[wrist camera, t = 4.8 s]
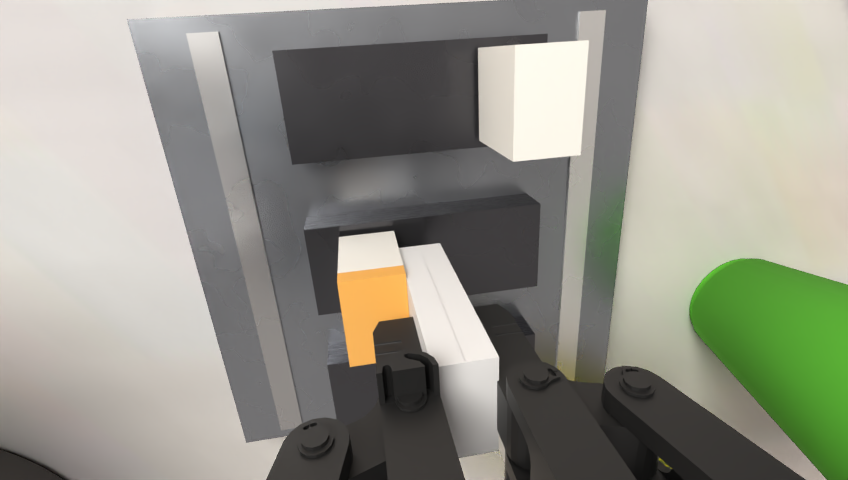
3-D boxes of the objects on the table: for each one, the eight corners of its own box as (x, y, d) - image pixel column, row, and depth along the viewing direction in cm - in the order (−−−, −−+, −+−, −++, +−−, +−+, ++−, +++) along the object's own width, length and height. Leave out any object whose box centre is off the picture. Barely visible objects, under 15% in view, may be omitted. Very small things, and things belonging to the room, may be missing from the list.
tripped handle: (349, 308, 17) (349, 367, 14) (338, 236, 16) (337, 282, 13) (400, 301, 18) (412, 357, 14) (393, 230, 16) (405, 273, 13)
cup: (684, 216, 22) (964, 347, 12) (832, 226, 24) (1186, 348, 14) (633, 367, 25) (822, 569, 15) (767, 366, 27) (1015, 548, 17)
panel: (252, 419, 23) (239, 469, 20) (146, 22, 16) (103, 15, 13) (589, 365, 25) (619, 403, 22) (625, -3, 18) (676, -14, 15)
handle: (479, 140, 16) (513, 161, 13) (478, 47, 15) (515, 44, 11) (533, 135, 16) (580, 155, 13) (536, 43, 15) (589, 40, 12)
